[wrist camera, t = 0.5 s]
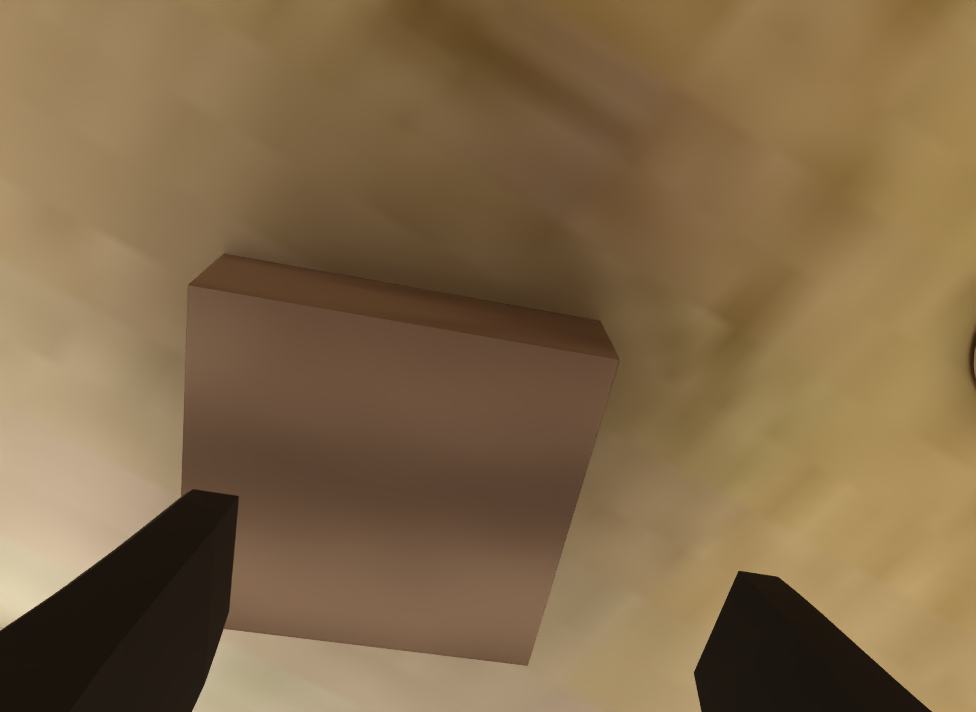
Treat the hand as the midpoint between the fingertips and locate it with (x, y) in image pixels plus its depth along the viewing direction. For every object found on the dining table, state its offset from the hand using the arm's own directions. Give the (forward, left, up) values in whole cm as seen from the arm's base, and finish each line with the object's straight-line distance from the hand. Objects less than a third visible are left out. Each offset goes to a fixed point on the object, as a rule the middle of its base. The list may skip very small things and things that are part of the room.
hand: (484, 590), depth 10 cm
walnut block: (-4, +2, -10) cm, 11 cm away
